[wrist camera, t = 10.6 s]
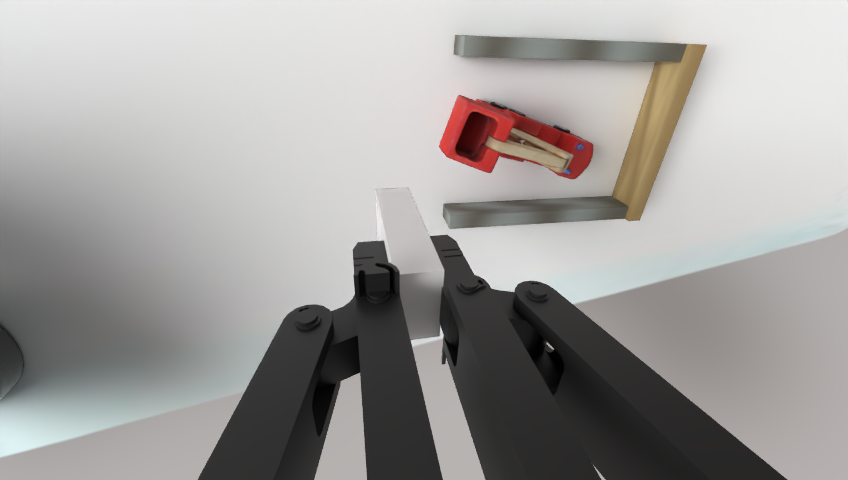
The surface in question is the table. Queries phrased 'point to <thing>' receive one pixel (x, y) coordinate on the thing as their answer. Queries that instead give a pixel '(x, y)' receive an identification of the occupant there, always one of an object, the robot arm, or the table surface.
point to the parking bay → (645, 145)
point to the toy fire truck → (510, 139)
